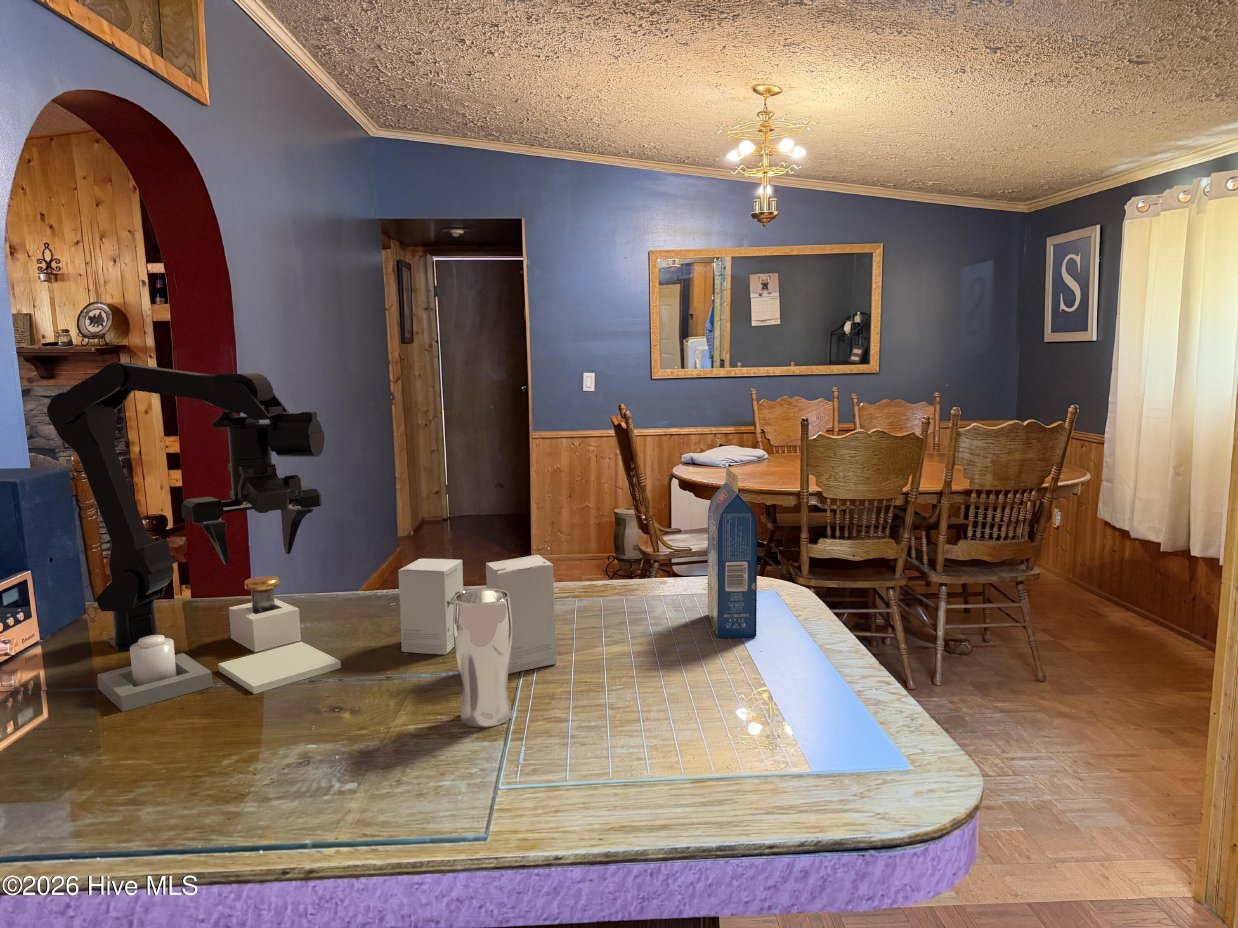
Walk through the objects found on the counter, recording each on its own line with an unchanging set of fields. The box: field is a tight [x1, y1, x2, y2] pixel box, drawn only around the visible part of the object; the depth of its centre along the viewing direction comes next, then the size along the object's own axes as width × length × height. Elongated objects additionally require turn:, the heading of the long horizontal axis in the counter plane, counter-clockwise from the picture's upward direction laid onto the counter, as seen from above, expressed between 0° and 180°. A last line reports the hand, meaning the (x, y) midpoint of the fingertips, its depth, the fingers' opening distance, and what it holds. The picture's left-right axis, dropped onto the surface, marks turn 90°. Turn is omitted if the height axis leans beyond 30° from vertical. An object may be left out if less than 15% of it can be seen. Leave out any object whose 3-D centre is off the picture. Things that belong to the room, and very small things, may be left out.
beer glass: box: [453, 587, 513, 729], centre depth 97 cm, size 7×7×15 cm
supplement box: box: [397, 558, 464, 655], centre depth 122 cm, size 7×7×13 cm
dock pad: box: [217, 641, 342, 695], centre depth 114 cm, size 12×12×1 cm
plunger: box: [244, 575, 280, 614], centre depth 125 cm, size 5×5×6 cm
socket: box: [96, 652, 214, 712], centre depth 108 cm, size 11×11×2 cm
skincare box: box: [485, 554, 558, 675], centre depth 113 cm, size 8×6×15 cm
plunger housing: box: [228, 597, 302, 653], centre depth 126 cm, size 9×7×5 cm
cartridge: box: [129, 634, 176, 687], centre depth 107 cm, size 5×5×7 cm
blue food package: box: [707, 465, 758, 639], centre depth 128 cm, size 6×12×25 cm, turn 1°
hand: (257, 559), depth 124 cm, fingers open, 9 cm apart
